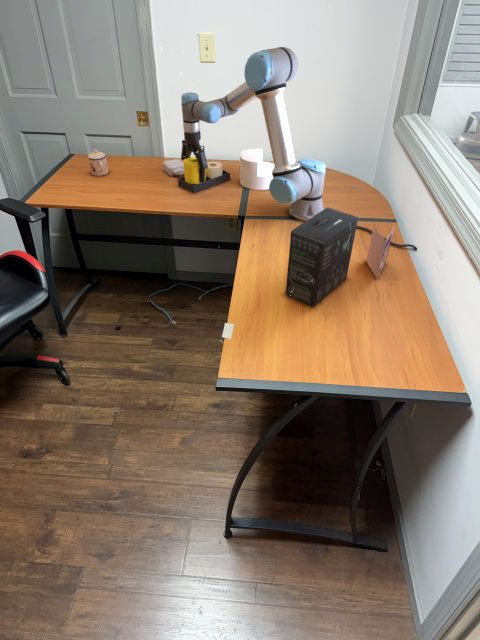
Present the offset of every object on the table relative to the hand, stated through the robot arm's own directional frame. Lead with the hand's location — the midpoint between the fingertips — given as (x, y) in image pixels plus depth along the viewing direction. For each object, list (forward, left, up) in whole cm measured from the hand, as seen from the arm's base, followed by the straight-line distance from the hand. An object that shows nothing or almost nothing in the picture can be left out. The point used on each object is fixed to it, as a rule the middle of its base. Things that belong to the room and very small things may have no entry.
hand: (195, 178), depth 212 cm
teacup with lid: (+46, +26, -4) cm, 53 cm away
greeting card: (-102, -1, -4) cm, 102 cm away
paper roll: (0, -12, -4) cm, 12 cm away
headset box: (-95, +23, -4) cm, 98 cm away
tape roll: (0, 0, -1) cm, 1 cm away
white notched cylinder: (-18, -27, -4) cm, 32 cm away
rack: (0, -6, -4) cm, 7 cm away
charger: (+19, -3, -4) cm, 20 cm away
